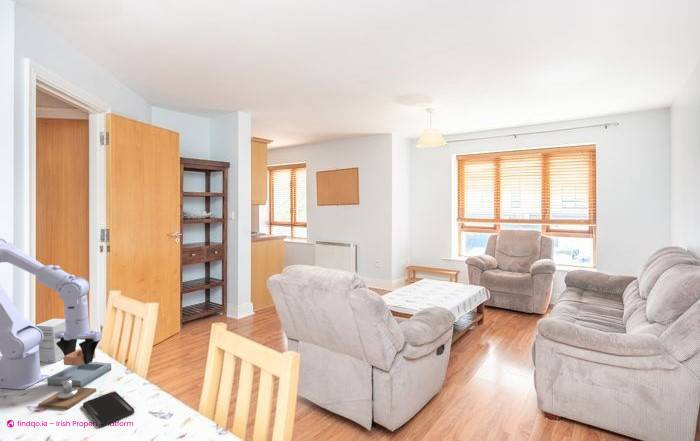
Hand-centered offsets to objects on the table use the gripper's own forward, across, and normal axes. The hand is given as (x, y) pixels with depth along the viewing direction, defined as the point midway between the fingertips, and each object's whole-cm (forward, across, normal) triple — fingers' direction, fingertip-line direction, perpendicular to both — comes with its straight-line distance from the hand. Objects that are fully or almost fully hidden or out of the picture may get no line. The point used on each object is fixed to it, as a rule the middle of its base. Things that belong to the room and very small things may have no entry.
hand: (80, 362), depth 114 cm
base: (+5, +7, -11) cm, 14 cm away
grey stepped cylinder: (+5, +7, -11) cm, 14 cm away
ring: (0, 0, 0) cm, 0 cm away
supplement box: (+5, -21, +11) cm, 24 cm away
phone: (+6, +22, -14) cm, 27 cm away
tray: (+5, 0, 0) cm, 5 cm away
